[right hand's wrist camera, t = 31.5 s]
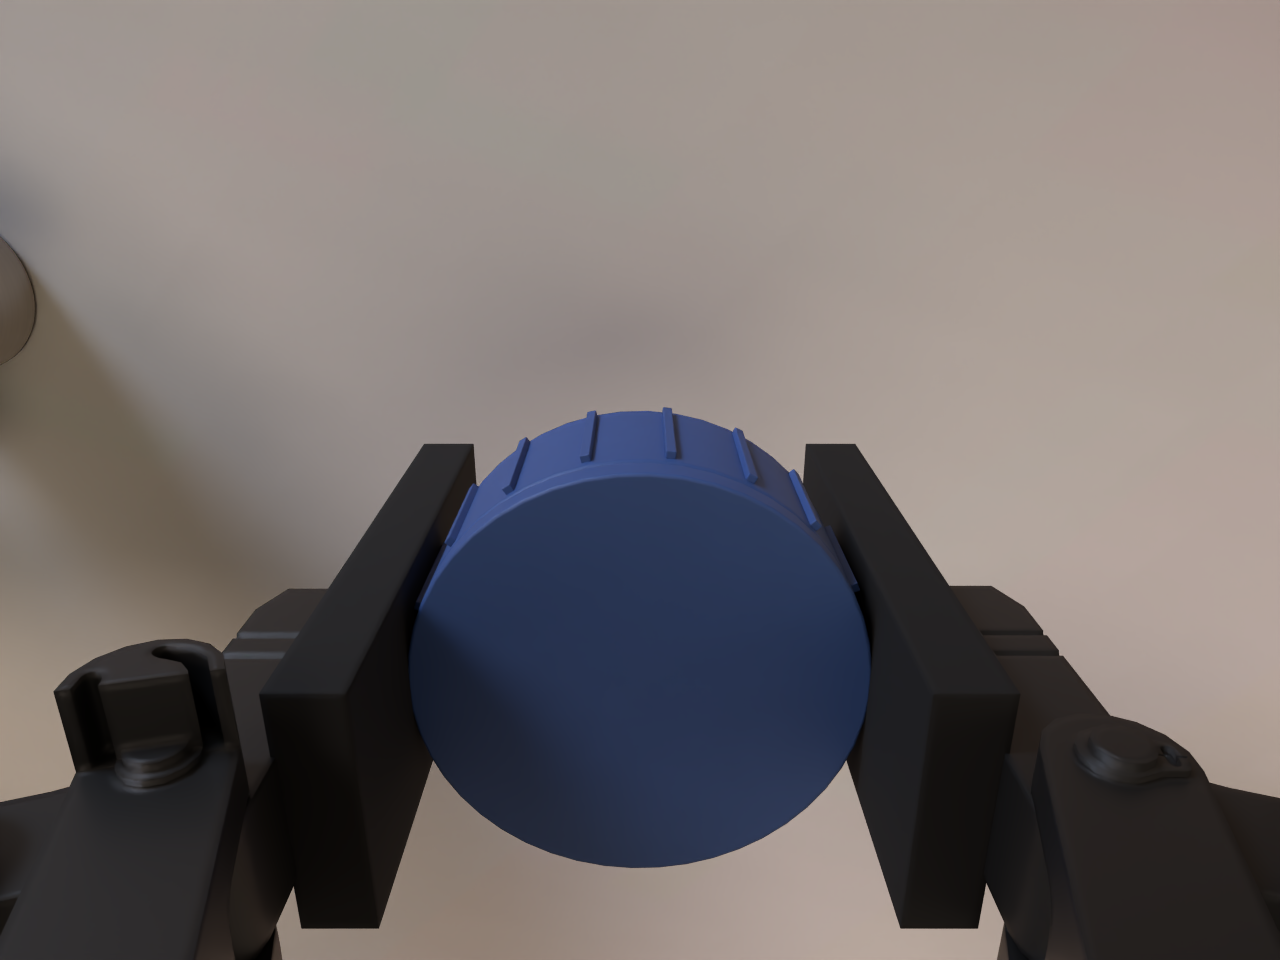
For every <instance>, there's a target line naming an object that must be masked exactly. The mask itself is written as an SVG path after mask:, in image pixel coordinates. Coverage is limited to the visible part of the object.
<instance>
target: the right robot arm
mask: <svg viewBox="0 0 1280 960" xmlns="http://www.w3.org/2000/svg"><path fill="white" fill-rule="evenodd" d="M472 484H475V485H476V472H475V458H474V444H424V445H423V447H422V448H421V450H420V451H419V453H418V454H417V456H416V457H415V459H414V460H413V462H412V463H411V465H410V466H409V468H408V469H407V471H406V472H405V474H404V475H403V477H402V478H401V480H400V481H399V483H398V484H397V486H396V487H395V489H394V490H393V492H392V493H391V495H390V496H389V498H388V499H387V501H386V502H385V504H384V505H383V507H382V509H381V510H380V512H379V513H378V515H377V516H376V518H375V519H374V521H373V522H372V524H371V525H370V527H369V528H368V530H367V531H366V533H365V534H364V536H363V537H362V539H361V540H360V542H359V543H358V545H357V546H356V548H355V549H354V551H353V552H352V554H351V555H350V557H349V558H348V560H347V561H346V563H345V564H344V566H343V567H342V569H341V570H340V572H339V573H338V575H337V576H336V578H335V579H334V581H333V582H332V584H331V585H330V587H329V588H328V589H288V590H286V591H284V592H283V593H281V594H280V595H278V596H277V597H275V598H273V599H272V600H270V601H269V602H267V603H265V604H264V605H262V606H261V607H259V608H258V609H256V610H255V611H254V612H253V614H252V615H251V616H250V618H249V619H248V620H247V621H246V623H245V624H244V625H243V627H242V628H241V629H240V630H239V632H238V633H237V638H236V639H232V641H231V642H230V643H229V644H228V646H227V647H226V648H225V650H224V651H223V652H222V653H221V652H220V651H219V650H217V649H216V648H215V647H213V646H212V645H211V644H208V643H204V642H199V641H195V640H190V639H168V640H155V641H150V642H145V643H141V644H136V645H131V646H126V647H124V648H121V649H118V650H116V651H113V652H110V653H108V654H105V655H103V656H100V657H97V658H95V659H93V660H92V661H90V662H88V663H87V664H85V665H84V666H82V667H80V668H79V669H77V670H75V671H74V672H72V673H70V674H69V675H68V676H67V677H66V678H65V680H64V681H63V682H62V683H61V684H60V685H59V686H58V687H57V688H56V689H55V690H54V695H55V699H56V702H57V706H58V709H59V713H60V717H61V720H62V724H63V727H64V731H65V734H66V738H67V742H68V745H69V749H70V752H71V756H72V759H73V763H74V767H75V770H76V774H75V776H74V778H73V780H72V782H71V785H70V787H67V788H63V789H60V790H56V791H52V792H48V793H43V794H38V795H33V796H28V797H23V798H19V799H14V800H9V801H4V802H0V960H282V955H281V948H280V942H279V937H278V932H277V927H276V924H277V922H278V920H279V917H280V915H281V913H282V911H283V908H284V906H285V904H286V902H287V900H288V897H289V895H290V893H291V891H292V889H293V886H294V890H295V895H296V901H297V906H298V912H299V917H300V923H301V928H302V929H334V928H379V926H380V923H381V920H382V917H383V914H384V911H385V908H386V905H387V902H388V898H389V895H390V892H391V889H392V886H393V883H394V880H395V877H396V874H397V871H398V867H399V864H400V861H401V858H402V855H403V852H404V849H405V846H406V843H407V839H408V836H409V833H410V830H411V827H412V824H413V821H414V818H415V815H416V812H417V808H418V805H419V802H420V799H421V796H422V793H423V790H424V787H425V784H426V780H427V777H428V774H429V771H430V768H431V765H432V762H433V759H432V757H431V756H430V754H429V752H428V750H427V747H426V745H425V743H424V741H423V739H422V737H421V735H420V732H419V730H418V726H417V723H416V719H415V716H414V713H413V708H412V699H411V690H410V681H409V670H408V652H409V646H410V640H411V634H412V628H413V625H414V622H415V619H416V616H417V613H418V610H415V609H414V607H415V603H416V600H417V598H418V596H419V594H420V592H421V590H422V587H423V585H424V583H425V581H426V579H427V577H428V574H429V572H430V570H431V568H432V566H433V564H434V562H435V559H436V557H437V555H438V553H439V551H440V549H441V547H442V544H443V542H445V540H446V538H447V536H448V534H449V531H450V529H451V527H452V525H453V523H454V521H455V519H456V516H457V514H458V512H459V510H460V508H461V506H462V503H463V501H464V499H465V497H466V495H467V493H468V490H469V489H470V487H471V486H472ZM803 485H804V487H805V490H806V492H807V494H808V496H809V499H810V501H811V503H812V504H813V506H814V508H815V509H816V511H817V513H818V514H819V517H820V519H821V521H822V523H823V525H824V527H826V526H829V525H830V526H831V528H832V530H833V532H834V534H835V536H836V538H837V540H838V543H839V545H840V547H841V549H842V551H843V553H844V555H845V557H846V560H847V562H848V564H849V566H850V568H851V570H852V572H853V574H854V577H855V579H856V581H857V583H858V586H859V588H860V591H857V592H854V594H855V596H856V599H857V601H858V604H859V606H860V609H861V611H862V614H863V616H864V619H865V623H866V628H867V632H868V636H869V640H870V647H871V675H870V684H869V694H868V702H867V710H866V715H865V719H864V723H863V725H862V728H861V730H860V733H859V735H858V738H857V740H856V743H855V745H854V747H853V749H852V751H851V752H850V754H849V756H848V758H847V759H846V760H847V764H848V767H849V770H850V773H851V776H852V779H853V782H854V785H855V788H856V791H857V795H858V798H859V801H860V804H861V807H862V810H863V813H864V816H865V819H866V823H867V826H868V829H869V832H870V835H871V838H872V841H873V844H874V847H875V851H876V854H877V857H878V860H879V863H880V866H881V869H882V872H883V875H884V878H885V882H886V885H887V888H888V891H889V894H890V897H891V900H892V903H893V906H894V910H895V913H896V916H897V919H898V922H899V925H900V928H924V929H925V928H926V929H927V928H928V929H978V925H979V920H980V914H981V909H982V903H983V898H984V892H985V887H986V883H987V885H988V887H989V890H990V892H991V894H992V896H993V898H994V901H995V903H996V905H997V907H998V909H999V912H1000V914H1001V916H1002V918H1003V920H1004V927H1003V932H1002V937H1001V942H1000V947H999V952H998V957H997V960H1280V798H1276V797H1271V796H1267V795H1262V794H1257V793H1252V792H1247V791H1242V790H1237V789H1232V788H1228V787H1224V786H1220V785H1217V784H1213V783H1209V781H1208V779H1207V777H1206V774H1205V772H1204V771H1203V769H1202V768H1201V767H1200V765H1199V764H1198V763H1197V762H1196V760H1195V759H1194V758H1193V756H1192V755H1191V754H1190V752H1188V751H1187V750H1186V749H1184V748H1183V747H1181V746H1180V745H1179V744H1177V743H1176V742H1174V741H1173V740H1172V739H1170V738H1169V737H1167V736H1166V735H1164V734H1162V733H1160V732H1157V731H1155V730H1153V729H1151V728H1148V727H1146V726H1144V725H1142V724H1139V723H1137V722H1134V721H1130V720H1126V719H1122V718H1118V717H1113V716H1110V715H1109V714H1108V712H1107V711H1106V710H1105V708H1104V707H1103V706H1102V705H1101V703H1100V702H1099V701H1098V700H1097V698H1096V697H1095V696H1094V694H1093V693H1092V692H1091V691H1090V689H1089V688H1088V687H1087V686H1086V684H1085V683H1084V682H1083V681H1082V679H1081V678H1080V677H1079V675H1078V674H1077V673H1076V672H1075V670H1074V669H1073V668H1072V667H1071V665H1070V664H1069V663H1068V662H1067V660H1066V659H1065V658H1064V656H1059V650H1058V649H1057V648H1056V646H1055V645H1054V644H1053V642H1052V641H1051V640H1050V639H1049V637H1048V636H1047V635H1043V630H1042V629H1041V627H1040V626H1039V625H1038V623H1037V622H1036V621H1035V620H1034V618H1033V617H1032V616H1031V615H1030V613H1029V612H1028V611H1027V609H1026V608H1025V607H1024V606H1023V605H1021V604H1019V603H1018V602H1016V601H1015V600H1013V599H1011V598H1010V597H1008V596H1007V595H1005V594H1003V593H1002V592H1000V591H999V590H997V589H995V588H994V587H992V586H949V585H948V583H947V582H946V580H945V579H944V577H943V576H942V574H941V573H940V571H939V570H938V568H937V567H936V565H935V564H934V562H933V561H932V559H931V558H930V556H929V555H928V553H927V552H926V550H925V549H924V547H923V546H922V544H921V543H920V541H919V540H918V538H917V537H916V535H915V534H914V532H913V531H912V529H911V528H910V526H909V524H908V523H907V521H906V520H905V518H904V517H903V515H902V514H901V512H900V511H899V509H898V508H897V506H896V505H895V503H894V502H893V500H892V499H891V497H890V496H889V494H888V493H887V491H886V490H885V488H884V487H883V485H882V484H881V482H880V481H879V479H878V478H877V476H876V475H875V473H874V472H873V470H872V469H871V467H870V466H869V464H868V463H867V461H866V460H865V458H864V457H863V455H862V454H861V452H860V451H859V449H858V448H857V446H856V444H806V450H805V464H804V478H803Z"/></svg>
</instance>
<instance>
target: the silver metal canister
mask: <svg viewBox="0 0 1280 960" xmlns="http://www.w3.org/2000/svg"><path fill="white" fill-rule="evenodd" d="M34 317H35V301H34V294H33V290H32V286H31V282H30V280H29V277H28V275H27V272H26V271H25V269H24V267H23V265H22V263H21V261H20V260H19V258H18V257H17V256H16V254H15V253H14V251H13V250H12V249H11V248H10V247H9V245H8V244H7V243H6V242H5V241H4V240H3V239H2V238H1V237H0V365H1V364H3V363H5V362H7V361H8V360H9V359H11V358H12V357H14V356H15V355H16V354H17V353H18V352H19V351H20V350H21V349H22V347H23V346H24V344H25V343H26V341H27V339H28V337H29V335H30V333H31V330H32V327H33V324H34Z"/></svg>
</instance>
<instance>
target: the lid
mask: <svg viewBox="0 0 1280 960" xmlns="http://www.w3.org/2000/svg"><path fill="white" fill-rule="evenodd" d="M857 591H860V588H859V586H858V583H857V581H856V579H855V577H854V574H853V572H852V570H851V568H850V566H849V564H848V562H847V560H846V557H845V555H844V553H843V551H842V549H841V547H840V545H839V543H838V540H837V538H836V536H835V534H834V532H833V530H832V528H831V526H830V525H829V526H826V527H824V525H823V523H822V521H821V519H820V517H819V514H818V513H817V511H816V509H815V508H814V506H813V504H812V503H811V501H810V499H809V496H808V494H807V492H806V490H805V487H804V485H803V483H802V481H801V478H800V476H799V474H798V473H797V472H796V471H795V470H794V469H793V470H792V471H791V472H788V471H787V470H786V469H785V468H784V467H783V466H781V465H780V464H779V463H778V462H777V461H776V460H775V459H774V458H773V457H772V456H770V455H769V454H768V453H766V452H765V451H763V450H762V449H761V448H759V447H758V446H756V445H755V444H753V443H752V442H751V441H749V440H747V439H745V437H744V434H743V431H742V430H740V429H738V428H735V429H734V431H733V432H732V431H730V430H728V429H725V428H722V427H720V426H717V425H714V424H712V423H709V422H706V421H704V420H700V419H696V418H691V417H687V416H683V415H678V414H672V409H671V408H665V407H664V408H663V411H662V412H652V411H631V412H616V413H609V414H602V415H597V413H596V411H591V412H587V418H584V419H581V420H577V421H574V422H570V423H567V424H564V425H562V426H560V427H557V428H555V429H553V430H550V431H548V432H546V433H544V434H542V435H540V436H538V437H537V438H535V439H533V440H531V441H529V440H528V438H527V437H525V438H524V439H522V440H521V441H520V442H519V444H518V447H517V450H516V451H515V452H513V453H512V454H511V455H510V456H508V457H507V458H506V459H505V460H503V461H502V462H501V463H500V464H499V465H498V466H497V467H496V468H495V469H494V470H493V471H492V472H491V473H490V474H489V475H488V476H487V477H486V478H485V479H484V480H483V482H482V483H481V484H480V486H479V487H478V486H477V485H475V484H472V486H471V487H470V489H469V490H468V493H467V495H466V497H465V499H464V501H463V503H462V506H461V508H460V510H459V512H458V514H457V516H456V519H455V521H454V523H453V525H452V527H451V529H450V531H449V534H448V536H447V538H446V540H445V542H443V544H442V547H441V549H440V551H439V553H438V555H437V557H436V559H435V562H434V564H433V566H432V568H431V570H430V572H429V574H428V577H427V579H426V581H425V583H424V585H423V587H422V590H421V592H420V594H419V596H418V598H417V600H416V603H415V607H414V609H415V610H418V613H417V616H416V619H415V622H414V625H413V628H412V634H411V640H410V646H409V652H408V670H409V681H410V690H411V699H412V708H413V713H414V716H415V719H416V723H417V726H418V730H419V732H420V735H421V737H422V739H423V741H424V743H425V745H426V747H427V750H428V752H429V754H430V756H431V757H432V759H433V760H434V762H435V763H436V765H437V767H438V768H439V770H440V771H441V773H442V774H443V776H444V777H445V778H446V780H447V781H448V782H449V783H450V784H451V785H452V787H453V788H454V789H455V790H456V791H457V792H458V794H459V795H460V796H461V797H462V798H463V799H464V800H465V801H467V802H468V803H469V804H470V805H471V806H472V807H473V808H474V809H475V810H476V811H478V812H479V813H480V814H481V815H482V816H484V817H485V818H487V819H488V820H489V821H491V822H492V823H494V824H495V825H496V826H498V827H499V828H501V829H502V830H504V831H506V832H507V833H509V834H511V835H513V836H515V837H517V838H518V839H520V840H522V841H524V842H526V843H528V844H530V845H533V846H535V847H538V848H540V849H542V850H545V851H547V852H550V853H553V854H556V855H559V856H563V857H566V858H570V859H573V860H576V861H581V862H587V863H592V864H598V865H603V866H614V867H626V868H652V867H666V866H674V865H682V864H689V863H693V862H697V861H702V860H706V859H711V858H714V857H717V856H720V855H723V854H726V853H729V852H732V851H735V850H738V849H740V848H742V847H745V846H747V845H749V844H751V843H753V842H755V841H757V840H760V839H762V838H764V837H765V836H767V835H769V834H770V833H772V832H774V831H775V830H777V829H778V828H780V827H782V826H783V825H785V824H787V823H788V822H789V821H790V820H792V819H793V818H794V817H796V816H797V815H798V814H799V813H801V812H802V811H803V810H804V809H806V808H807V807H808V806H809V805H810V804H811V803H812V802H813V801H814V800H815V799H816V798H817V797H818V796H819V795H820V794H821V793H822V792H823V791H824V790H825V789H826V788H827V786H828V785H829V784H830V783H831V781H832V780H833V779H834V777H835V776H836V775H837V773H838V772H839V771H840V769H841V768H842V766H843V765H844V763H845V761H846V759H847V758H848V756H849V754H850V752H851V751H852V749H853V747H854V745H855V743H856V740H857V738H858V735H859V733H860V730H861V728H862V725H863V723H864V719H865V715H866V710H867V702H868V694H869V684H870V675H871V647H870V640H869V636H868V632H867V628H866V623H865V619H864V616H863V614H862V611H861V609H860V606H859V604H858V601H857V599H856V596H855V594H854V592H857Z"/></svg>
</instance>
